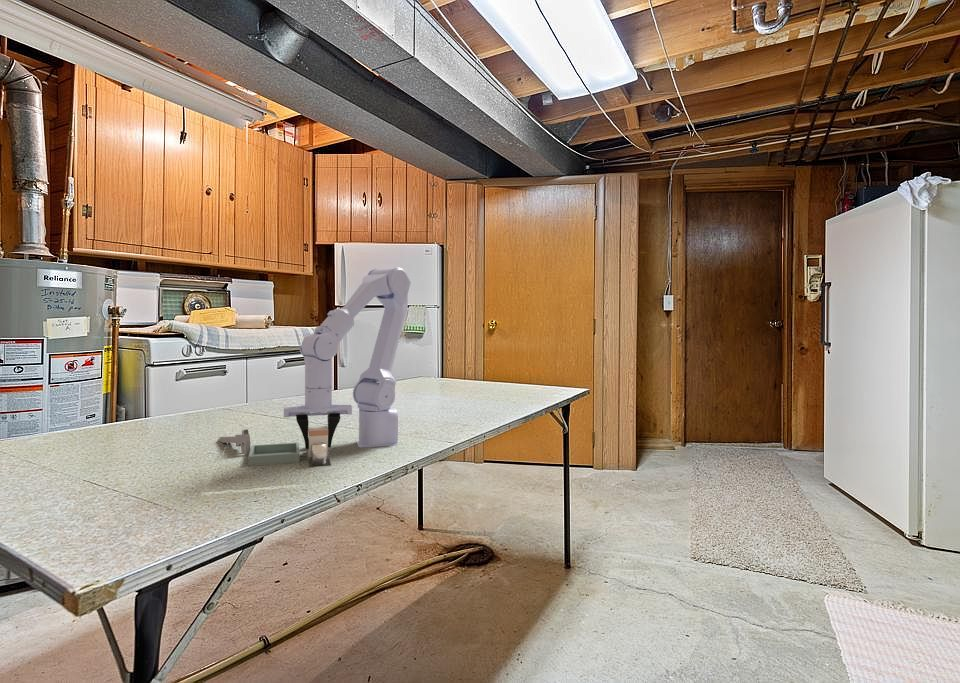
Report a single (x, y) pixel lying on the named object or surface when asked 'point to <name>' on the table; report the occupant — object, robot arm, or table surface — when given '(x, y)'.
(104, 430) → the table surface
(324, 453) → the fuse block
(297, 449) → the tray
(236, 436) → the caliper
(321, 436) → the beige and orange block
